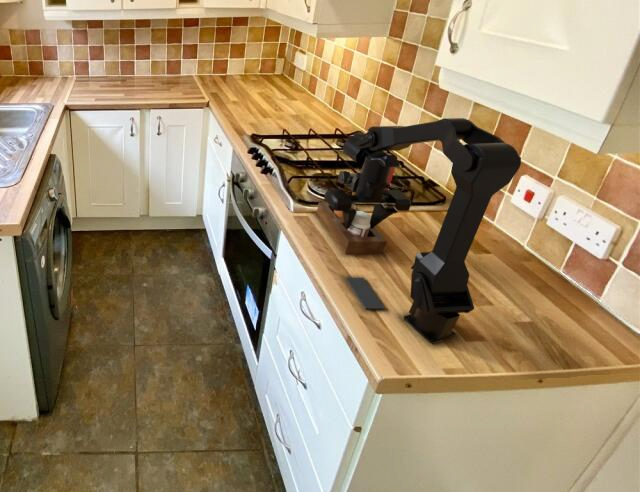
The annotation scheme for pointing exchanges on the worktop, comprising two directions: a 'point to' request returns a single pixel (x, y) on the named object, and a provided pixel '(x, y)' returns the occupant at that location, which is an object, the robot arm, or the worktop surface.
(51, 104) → the worktop surface
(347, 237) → the pod stand
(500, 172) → the robot arm
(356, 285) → the slate mat
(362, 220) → the pill bottle
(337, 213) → the orange brown jar
